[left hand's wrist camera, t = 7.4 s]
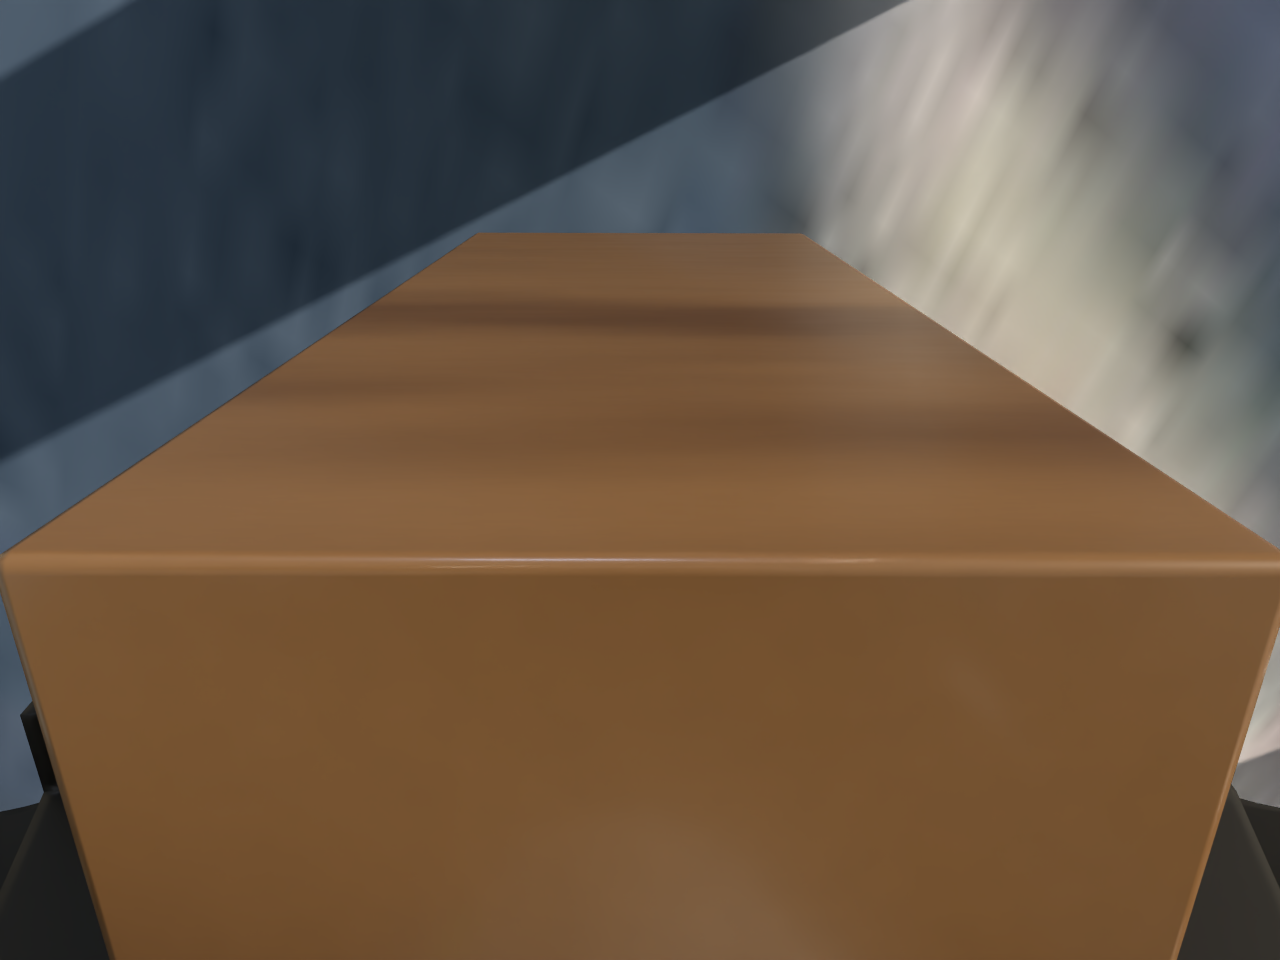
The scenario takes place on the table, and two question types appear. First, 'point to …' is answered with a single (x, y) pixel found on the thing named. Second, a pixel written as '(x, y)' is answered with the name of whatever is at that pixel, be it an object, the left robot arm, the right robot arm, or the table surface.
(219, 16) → the table surface
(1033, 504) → the box
